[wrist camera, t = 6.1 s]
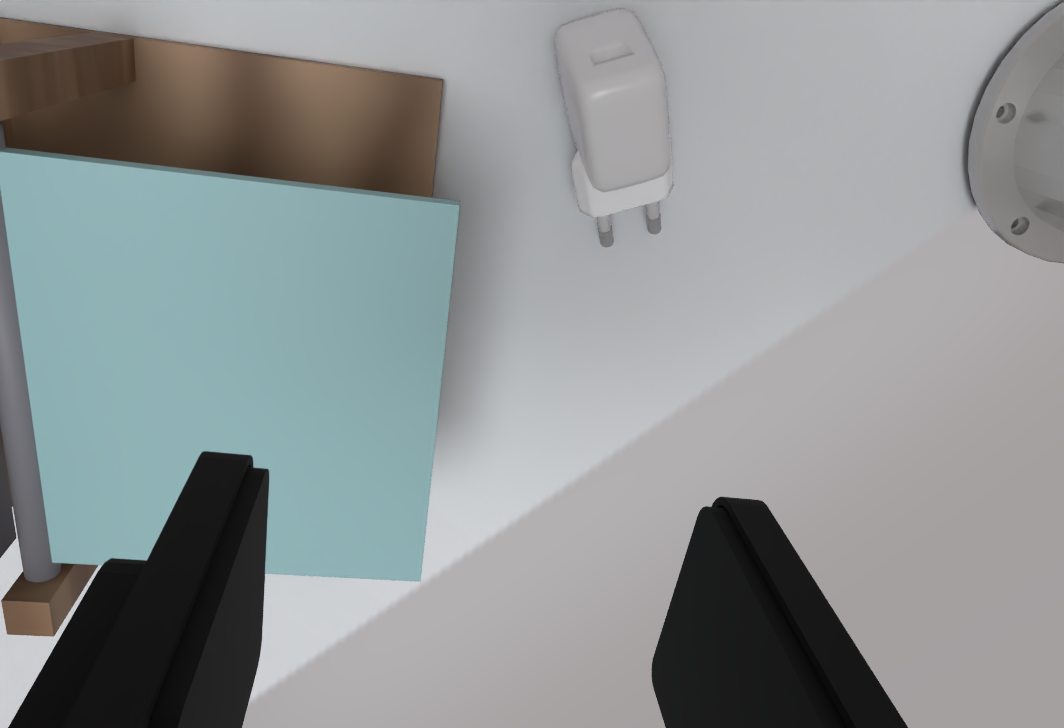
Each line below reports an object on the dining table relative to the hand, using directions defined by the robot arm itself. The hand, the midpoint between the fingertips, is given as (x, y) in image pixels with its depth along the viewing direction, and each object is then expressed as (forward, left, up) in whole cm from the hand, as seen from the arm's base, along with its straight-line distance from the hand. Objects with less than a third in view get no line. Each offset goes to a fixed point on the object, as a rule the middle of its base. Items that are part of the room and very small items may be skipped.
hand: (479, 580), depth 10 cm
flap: (+14, +7, -17) cm, 23 cm away
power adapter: (-6, -3, -28) cm, 29 cm away
